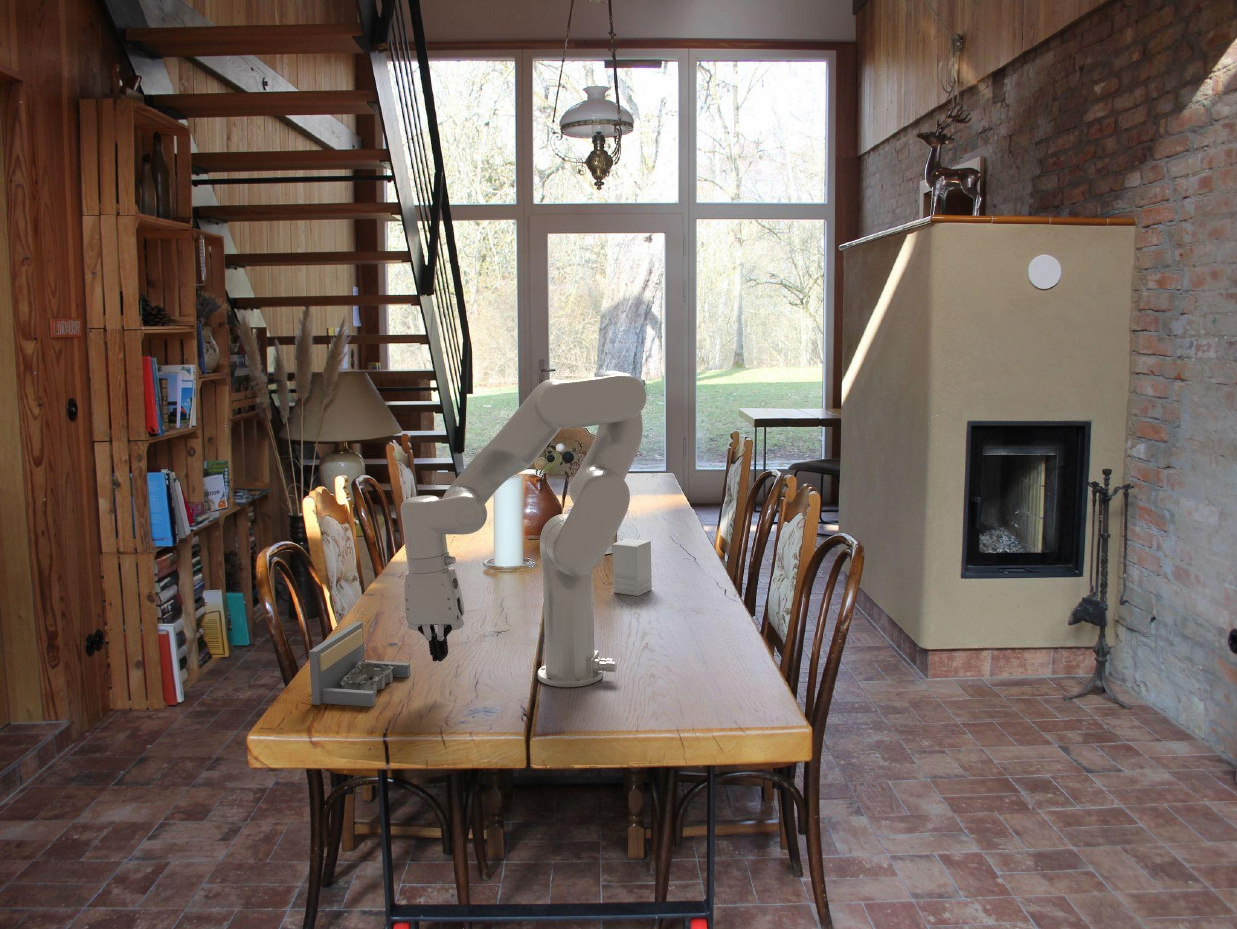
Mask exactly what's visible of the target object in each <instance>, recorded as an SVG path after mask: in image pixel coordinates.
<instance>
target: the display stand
mask: <svg viewBox="0 0 1237 929" xmlns="http://www.w3.org/2000/svg"><path fill="white" fill-rule="evenodd" d="M364 640H365V639H364V624H363V621H354V622H353V623H352V624H350V625H348V626H347V627H345V628H344V629H342V630H340V631H339V632H337V633H336V634H334V635H332V636H331V637H329V638H328V639H326V640H324V641H323V642H321V643H320V644H317V646H315V647H313V648H312V649H310V650H309V651H308V657H309V658H308V659H309V672H310V688H311V690H310V691H311V704H312V705H315V706H319V705H322V704H326V705H327V704H328V705H343V706H355V707H357V706H358V707H367V708H368V707H369V708H370V707H371V708H373V707H374V706H376V704H377V702H376V695H375V691H365V690H350V689H342V685H341V684H340V685H339V682H341V681H342V679H343V678H344V677H345V676H347V675H348V674H349V673H350V671H351V670H353V669H354V668H355V665H356V664H357V663H358V662H359V661H360V660H361V661H362V659H364V660H365V661H367V662H372V663H374V665H375V668H381V665H383V666H384V667H388V666H391V667H394V668H392V670H391V671H392V678H394V677H395V678H406V679H407V678H409V677H411V673H412V672H411V663H409V662H400V661H398V662H397V661H383V660H382V661H381V660H380V661H379V660H377V661H376V660H366V659H365V645H364V644H365V643H364Z"/></svg>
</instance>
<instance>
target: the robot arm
mask: <svg viewBox="0 0 1237 929" xmlns="http://www.w3.org/2000/svg"><path fill="white" fill-rule="evenodd" d="M646 402H647V391H646V388H645V385H644V384H643V383H642V381H641V380H640V379H639V378H637V377H636V376H634V375H633V374H630V373H626V372H622V371H617V370H607V371H603V372H601V373H599V374H598V375H596V376H595V377H593V378H587V379H586V378H585V379H579V380H578V379H577V380H568V381H567V380H562V379H558V378H557V379H556V378H550V379H546V380H543V381H542V382H540V383H539V384H538V385H537V386H536V387H535V388H534V389H533V390H532V391H531V393H530V394H529V395H528V396H527V397H526V399H524V401H523V402H522V403H521V405H520V406H519V407H518V408H517V410H516V411H514V413H513V415H512V416H511V417H510V418H509V419H508V420H507V422H506V423H505V424H503V425H504V426H503V427H502V428H501V429H500V430H499V431H498V432H497V434H496V435H495V436H494V437H493V438H492V439H491V440H490V441H489V442H488V443H486V445H485V446H484V447H483V449H482V450H481V451H479V453H477V455H476V456H474V458H473V459H472V460H470V461H469V463H468V464H467V465H466V466H465V467H464V468H463V470H462V471H461V472H460V473H459V474H458V476H457V477H456V478H455V479H454V481H453V482H452V483H451V485H450V486H448V489H446V491H445V493H444V494H443V497H442V498H439V497H438V496H436V495H418V496H412V497H410V498H406V499H405V500H403V501H402V503H401V505H400V516H401V524H402V531H403V539H404V548H405V556H406V564H407V565H406V566H407V571H406V572H405V574H404V586H403V587H404V589H403V590H404V591H403V593H404V594H403V596H404V599H403V600H404V611H405V618H406V621H407V623H408V624H407V629H409V630H412V631H416V632H419V633H420V634H422V635H423V636H424V638H425V640H426V641H427V642H428V649H429V655H430V656H431V657H432V659H431V660H432V661H433V662H443V660H444V659H446V657H447V656H448V654H449V646H448V636H449V635H450V633H451V632H452V631H457V630H459V629H462V628H463V627H464V626H465V622H464V619H463V616H465V606H464V598H463V595H462V594H463V593H462V589H461V585H460V581H459V578H458V575H457V572H456V569H455V567H454V566H451V565H454V564H456V563H457V560H456V557H455V556H452V555H450V551H448V544H447V543H448V542H447V535H457V536H458V535H460V536H461V535H462V536H463V535H471V534H474V533H477V532H478V531H480V530H481V529H483V527H484V525H485V524H486V521H487V518H488V510H487V507H486V504H487V502H488V501H489V500H490V498H492V496H494V494H495V493H496V492H497V490H499V489H500V487H501V486H502V485H504V484H505V483H506V482H507V481H508V480H509V479H510V478H513V477H514V476H516V475H517V474H520V473H522V472H524V471H525V470H528V468H530V467H531V466H532V465H534V463H535V462H536V460H537V459H538V458H539V457H540V456H541V455H542V453H543V452H544V450H545V449H546V448H547V447H548V445H549V444H550V443H551V442H552V441H553V439H555V437H556V436H557V435H558V434H559V432H560V431H561V430H565V429H578V428H586V427H593V426H594V427H595V426H598V427H597V431H596V434H595V436H594V439H593V441H592V443H591V445H590V448H589V449H588V451H587V453H586V455H585V457H584V458H583V461H582V462H581V464H580V466H579V468H578V470H577V472H576V473H575V475H574V476H573V478H572V481H571V482H570V485H569V486H570V487H569V497H570V500H571V501H572V503H573V504H572V505H573V506H572V507H571V509H570V511H569V513H561V514H557V515H555V516H553V517H551V518H550V519H549V520H547V522H546V523H545V524H544V525H543V528H542V530H541V533H540V537H539V552H540V560H541V562H540V563H541V570H542V572H541V574H542V588H543V590H542V591H543V623H544V624H543V626H544V655H545V658H544V659H545V662H544V663H545V665H543V666H541V667H540V668H539V669H538V670H537V679H538V680H539V681H540V682H541V683H543V684H545V685H548V686H551V687H556V688H579V687H584V686H588V685H592V684H595V683H597V682H599V681H600V680H601V679H602V678H603V676H604V672H606V673H616V672H617V667H618V666H617V662H615V661H614V659H613V658H602V657H601V656H600V652H599V650H596V649H595V615H594V614H595V610H594V609H595V608H594V605H595V604H594V577H593V571H594V570H595V569H596V568H597V567H598V566H599V564H601V562H602V560H603V559H604V557H605V555H606V553H607V551H608V550H609V548H610V546H611V545H612V544H611V543H612V542H613V540H614V538H615V536H616V535H617V533H618V530H619V529H620V528H621V525H622V523H623V521H624V519H625V517H626V516H627V514H628V511H629V510H628V509H629V506H630V503H631V502H630V501H631V494H630V493H631V492H630V488H629V486H628V484H627V482H626V480H625V479H626V477H627V476H628V474H629V471H630V469H631V466H632V465H633V462H634V460H635V458H636V456H637V454H638V452H639V449H640V446H641V444H642V439H643V438H642V437H643V429H644V428H643V416H642V411H643V410H644V408H645V406H646V404H647V403H646ZM436 626H437V627H436Z"/></svg>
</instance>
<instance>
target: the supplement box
mask: <svg viewBox="0 0 1237 929" xmlns="http://www.w3.org/2000/svg"><path fill="white" fill-rule="evenodd" d="M611 548H612V549H611V551H612V579H613V581H612V584H613V593H616V594H622V595H628V596H637V597H639V596H641V595H643V594H645V593H647V592H649V591H652V590H653V583H652V582H653V580H652V577H653V576H652V541H651V540H643V539H635V538H627V537H626V538H624V539H622V540H619V541H616V542H614V543H612V544H611Z"/></svg>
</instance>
